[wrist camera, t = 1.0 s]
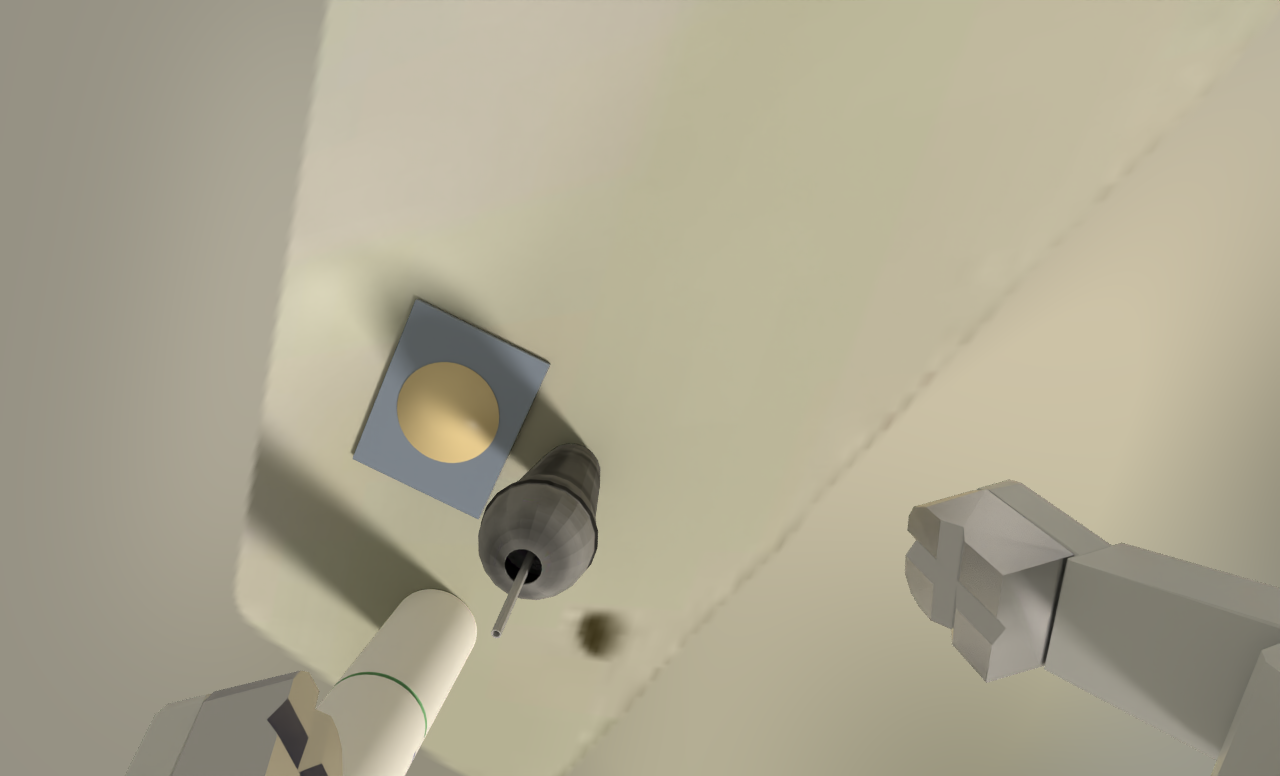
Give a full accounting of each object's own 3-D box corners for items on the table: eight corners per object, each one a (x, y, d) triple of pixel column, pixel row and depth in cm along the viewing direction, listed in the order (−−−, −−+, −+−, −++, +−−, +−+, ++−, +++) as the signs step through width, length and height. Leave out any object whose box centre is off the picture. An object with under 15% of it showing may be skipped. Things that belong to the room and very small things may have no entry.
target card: (418, 298, 49) (415, 299, 48) (550, 363, 49) (549, 365, 49) (355, 457, 52) (351, 459, 52) (479, 517, 53) (477, 519, 52)
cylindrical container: (381, 641, 56) (142, 951, 31) (413, 574, 54) (188, 847, 30) (456, 678, 56) (277, 1014, 32) (490, 613, 54) (329, 915, 30)
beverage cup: (626, 437, 50) (586, 561, 31) (608, 523, 52) (560, 693, 32) (533, 417, 50) (435, 528, 31) (519, 503, 52) (417, 661, 33)
